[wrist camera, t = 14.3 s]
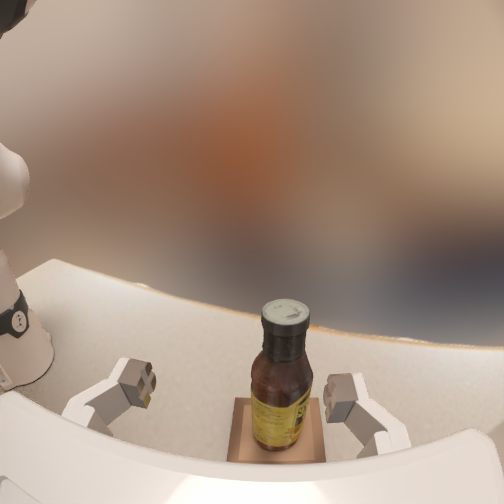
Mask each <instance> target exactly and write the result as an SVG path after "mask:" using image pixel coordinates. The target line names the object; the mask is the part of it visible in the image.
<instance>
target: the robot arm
mask: <svg viewBox="0 0 504 504" xmlns="http://www.w3.org/2000/svg"><path fill="white" fill-rule="evenodd" d="M35 2H36V0H0V39H1V37H2V35H3V33H5V32H7V31H9V30H11V29H12V28H13V27H15V26H16V25H17V24H18V23H19V22H20V21H21V20H23V19H24V18H25V17H26V16H27V14H28V12H29V10H30V9H31V7H32V6H33V5H34V3H35ZM29 187H30V175H29V171H28V168H27V165H26V163H25V162H24V160H23V159H22V158H21V157H20V156H19V155H18V154H16V153H14V152H12V151H10V150H8V149H7V148H6V147H4V146H3V145H2V144H1V143H0V219H2V218H4V217H6V216H8V215H9V214H11V213H12V212H14V211H15V210H17V209H19V208H20V207H22V206H23V205H24V203H25V201H26V198H27V196H28V192H29ZM53 356H54V351H53V347H52V345H51V335H50V333H49V332H45V331H44V330H43V328H42V326H41V324H40V322H39V320H38V319H37V317H36V315H35V313H34V311H33V310H32V309H29V308H28V305H27V303H26V299H25V297H24V296H23V293H22V291H21V290H20V289H19V288H18V285H17V282H16V279H15V276H14V273H13V270H12V267H11V264H10V260H9V258H8V256H7V254H6V253H5V252H4V251H3V250H2V249H0V386H1V387H2V388H3V389H4V390H10V389H12V388H14V387H15V386H18V385H24V384H28V383H31V382H33V381H35V380H36V379H38V378H39V377H40V376H42V375H43V374H44V373H45V372H46V371H47V369H48V368H49V366H50V365H51V363H52V360H53ZM151 370H152V365H151V363H149V362H144V361H140V360H135V359H131V358H126V357H121V358H120V359H119V360H118V362H117V364H116V365H115V367H114V369H113V371H112V372H111V374H110V376H109V378H108V379H104V380H102V381H101V382H99V383H97V384H95V385H93V386H92V387H90V388H88V389H86V390H85V391H83V392H81V393H79V394H77V395H76V396H74V397H72V398H71V399H70V401H69V402H68V404H67V406H66V407H65V409H64V411H63V413H62V414H61V416H60V415H58V414H56V413H54V412H52V411H50V410H48V409H46V408H44V407H43V406H41V405H39V404H37V403H35V402H33V401H32V400H30V399H28V398H27V397H25V396H23V395H22V394H20V393H18V392H16V391H9V392H6V393H4V394H1V395H0V504H504V474H503V470H502V467H501V463H500V459H499V456H498V453H497V450H496V447H495V444H494V442H493V441H492V439H491V438H490V437H488V436H487V435H485V434H484V433H482V432H481V431H479V430H477V429H475V428H473V427H469V428H465V429H463V430H460V431H458V432H455V433H453V434H450V435H448V436H445V437H442V438H439V439H436V440H433V441H430V442H427V443H424V444H420V445H417V446H413V447H411V443H410V440H409V437H408V433H407V430H406V427H405V425H404V424H402V423H401V422H400V421H399V420H397V419H396V418H395V417H394V416H392V415H391V414H390V413H389V412H388V411H386V410H385V409H384V408H383V407H382V406H380V405H379V404H378V403H377V402H376V401H374V400H373V399H370V398H369V395H368V391H367V388H366V385H365V381H364V378H363V375H362V373H346V374H331V375H329V376H328V379H327V382H328V384H327V385H325V388H324V394H323V400H324V405H325V406H326V407H327V408H326V411H325V415H326V422H327V423H340V422H344V423H345V425H346V426H347V427H348V428H349V429H350V430H351V432H352V433H353V434H354V435H355V436H356V437H357V438H358V440H359V441H360V442H361V443H362V444H363V445H364V446H365V447H364V448H363V449H362V451H361V452H360V453H359V454H358V455H357V459H351V460H344V461H335V462H325V463H312V464H248V463H235V462H224V461H216V460H208V459H201V458H195V457H189V456H184V455H178V454H173V453H169V452H164V451H160V450H156V449H152V448H148V447H144V446H140V445H137V444H133V443H130V442H127V441H124V440H121V439H117V438H114V437H112V436H113V434H112V432H111V431H110V429H109V428H108V427H107V425H108V424H110V423H111V422H112V421H114V420H115V419H116V418H117V417H119V416H120V415H121V414H122V413H124V412H125V411H126V410H127V409H129V408H130V407H131V405H132V406H136V407H141V408H146V409H147V407H148V404H149V402H150V399H151V398H150V395H149V394H151V393H152V392H154V389H155V386H156V377H155V374H154V373H153V372H152V371H151Z"/></svg>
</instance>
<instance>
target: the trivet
mask: <svg viewBox="0 0 504 504" xmlns="http://www.w3.org/2000/svg"><path fill="white" fill-rule="evenodd" d="M227 462H235V463H248V464H312V463H325V462H326V457H325V448H324V439H323V430H322V422H321V414H320V406H319V399H318V398H309V403H308V407H307V412H306V415H305V420H304V424H303V428H302V432H301V434H300V436H299V438H298V440H297V441H296V442H295V444H294V445H293V446H291V447H289V448H288V449H285V450H280V451H272V450H268V449H265V448H263V447H262V446H260V445H259V444H258V442H257V441H256V440H255V438H254V435H253V430H252V410H251V398H236V397H235V405H234V412H233V419H232V427H231V434H230V441H229V448H228V455H227Z"/></svg>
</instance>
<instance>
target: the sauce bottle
mask: <svg viewBox="0 0 504 504" xmlns="http://www.w3.org/2000/svg"><path fill="white" fill-rule="evenodd" d="M309 320H310V311H309V309H308V307H307V306H305V305H304V304H303V303H300V302H298V301H295V300H292V299H278V300H274V301H272V302H269V303H268V304H266V305H265V306H264V307H263V309H262V317H261V322H262V326H263V329H264V342H263V345H262V347H263V350H262V351H261V352H260V353H259V355H258V356H257V357H256V358H255V360H254V362H253V365H252V371H251V378H252V383H251V410H252V430H253V435H254V438H255V440H256V441H257V442H258V444H259V445H260V446H262V447H263V448H265V449H268V450H272V451H280V450H285V449H288V448H289V447H291V446H293V445H294V444H295V442H296V441H297V440H298V438H299V436H300V434H301V432H302V428H303V424H304V420H305V415H306V412H307V407H308V403H309V397H310V392H311V387H312V382H313V372H312V369H311V367H310V364H309V361H308V358H307V355H306V352H305V338H306V330H307V329H308V328H309Z"/></svg>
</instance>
